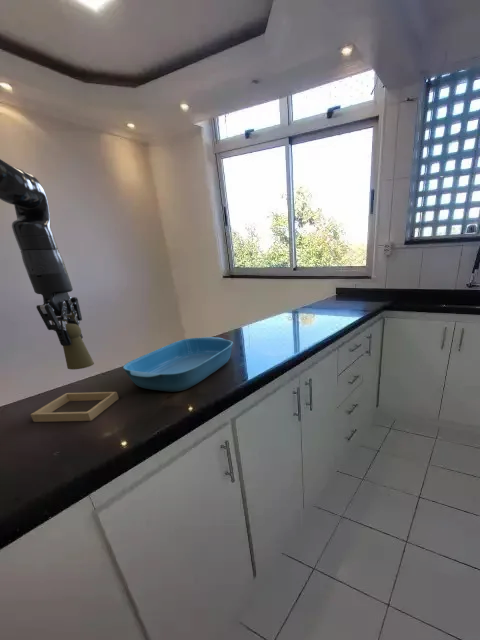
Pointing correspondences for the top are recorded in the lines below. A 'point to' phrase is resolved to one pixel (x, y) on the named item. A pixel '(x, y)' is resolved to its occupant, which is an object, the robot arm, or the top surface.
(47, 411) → the wooden frame
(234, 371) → the top surface
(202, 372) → the casserole dish
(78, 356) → the olive knobbed cone
